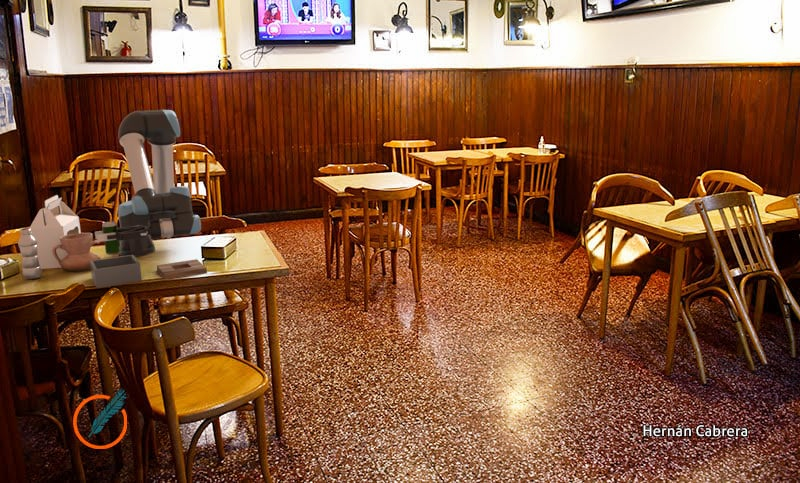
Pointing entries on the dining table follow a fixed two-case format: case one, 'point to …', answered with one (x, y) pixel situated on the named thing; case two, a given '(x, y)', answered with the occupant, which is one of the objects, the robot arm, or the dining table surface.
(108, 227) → the beer can
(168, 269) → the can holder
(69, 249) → the ceramic jug
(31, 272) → the plastic bottle
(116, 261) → the bin
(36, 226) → the gable box
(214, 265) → the dining table surface
